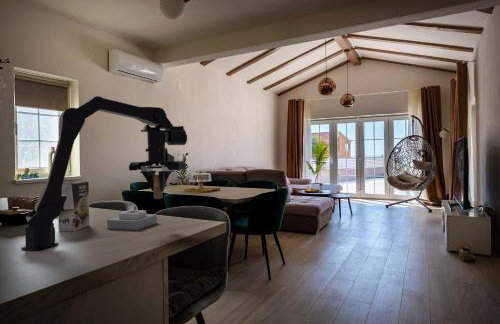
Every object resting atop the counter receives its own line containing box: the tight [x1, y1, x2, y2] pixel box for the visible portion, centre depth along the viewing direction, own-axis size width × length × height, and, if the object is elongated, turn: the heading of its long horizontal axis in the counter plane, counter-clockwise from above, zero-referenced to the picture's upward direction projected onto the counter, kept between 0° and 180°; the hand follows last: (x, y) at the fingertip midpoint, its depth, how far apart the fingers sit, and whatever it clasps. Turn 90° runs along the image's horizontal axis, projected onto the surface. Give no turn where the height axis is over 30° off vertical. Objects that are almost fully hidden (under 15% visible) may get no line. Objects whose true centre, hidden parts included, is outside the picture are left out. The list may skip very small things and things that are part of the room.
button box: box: [106, 209, 158, 231], centre depth 117 cm, size 12×12×5 cm
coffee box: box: [57, 181, 91, 232], centre depth 114 cm, size 9×6×16 cm
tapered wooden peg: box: [153, 174, 164, 200], centre depth 111 cm, size 3×3×8 cm
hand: (158, 191), depth 111 cm, fingers closed on tapered wooden peg, 3 cm apart
